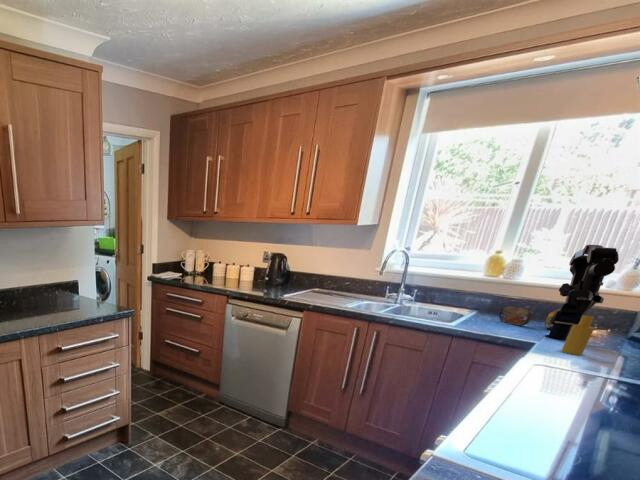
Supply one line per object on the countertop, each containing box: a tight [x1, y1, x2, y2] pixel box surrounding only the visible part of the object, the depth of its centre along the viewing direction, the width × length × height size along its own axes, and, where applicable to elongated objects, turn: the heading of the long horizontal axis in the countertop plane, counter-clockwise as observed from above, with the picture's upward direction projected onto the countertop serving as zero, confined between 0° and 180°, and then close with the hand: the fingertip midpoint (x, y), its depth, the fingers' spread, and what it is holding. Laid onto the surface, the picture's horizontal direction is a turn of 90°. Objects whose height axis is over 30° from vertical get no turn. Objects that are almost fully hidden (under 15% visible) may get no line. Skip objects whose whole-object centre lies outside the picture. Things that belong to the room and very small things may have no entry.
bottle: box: [561, 314, 595, 356], centre depth 168 cm, size 6×6×15 cm
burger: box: [544, 310, 574, 330], centre depth 208 cm, size 13×14×10 cm
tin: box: [498, 305, 533, 326], centre depth 218 cm, size 15×3×8 cm, turn 6°
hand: (578, 317), depth 175 cm, fingers closed
